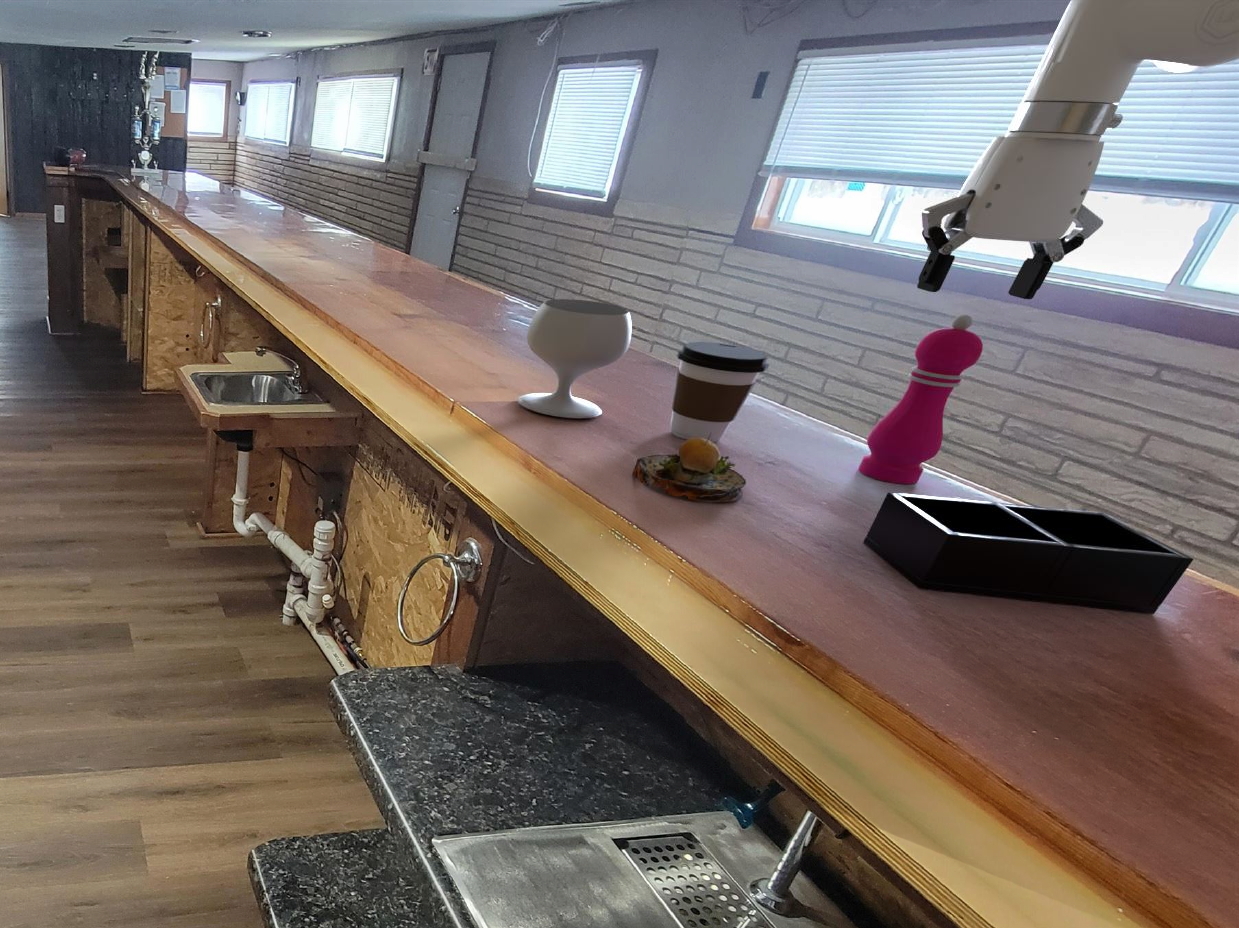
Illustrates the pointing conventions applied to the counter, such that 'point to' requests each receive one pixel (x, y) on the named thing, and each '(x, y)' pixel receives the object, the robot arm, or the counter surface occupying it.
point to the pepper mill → (921, 405)
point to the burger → (692, 473)
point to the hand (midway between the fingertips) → (972, 293)
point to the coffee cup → (712, 387)
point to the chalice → (575, 349)
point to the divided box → (1024, 553)
